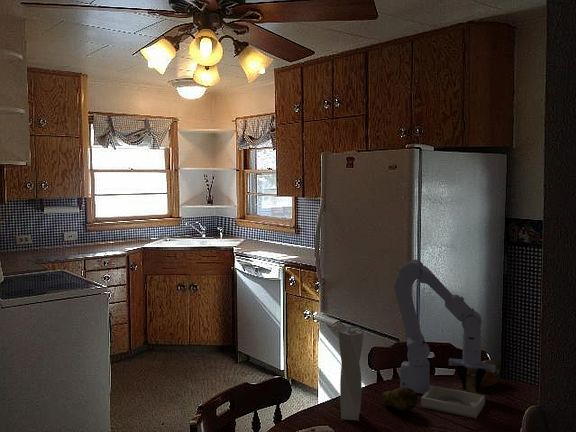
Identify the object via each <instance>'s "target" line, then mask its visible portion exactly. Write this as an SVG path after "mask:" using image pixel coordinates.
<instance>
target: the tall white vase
mask: <svg viewBox="0 0 576 432" xmlns="http://www.w3.org/2000/svg"><path fill="white" fill-rule="evenodd" d="M357 329H359V330H360V331H358V330H357ZM338 342H339V343H338V344H339V351H340V361H341V362H340V363H341V367H340V379H339V382H340V383H339V385H340V386H339V387H340V389H339V390H340V391H339V393H340V394H339V399H340V417H341V419H340V420H345V421H357V422H358V421H360V414H361V406H362V390H363V389H362V388H363V387H362V383H363V382H362V372H361V370H362V369H361V365H360V360H361V355H362V351H363V350H362V348H363V342H364V331H363V329H362V328H361V327H360V326H356V325H355V326H354V325H353V326H350V327H349V326H348V327H341V328H339V329H338Z"/></svg>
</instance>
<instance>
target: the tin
mask: <svg viewBox="0 0 576 432" xmlns="http://www.w3.org/2000/svg"><path fill="white" fill-rule="evenodd" d="M481 362H483V363H487V364H491V365H495V372H494V373H492V372H490V371H486V373H485V375H484V377H483V380H482V383H481V386H480V389H481V388H482V387H483V388H486V387H490V386H494V385H496V384H498V383H499V381H500V379H501V376H502V368H501V367H502V366H501V365H500V363H499V362H498V361H496V360H492V359H487V360H481ZM477 370H478V369H472V368H467V374H474V375H476V371H477ZM483 388H482V389H483Z"/></svg>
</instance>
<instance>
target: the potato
mask: <svg viewBox="0 0 576 432" xmlns="http://www.w3.org/2000/svg"><path fill="white" fill-rule="evenodd" d="M417 394H418V393H416V392H414V391H413V390H412V389H410V388H403V387H402V388H400V387H398V388H395V389H393V390H387V391H384V392H382V394H381V401H382V403H383V404H384V405H386V406H387V407H391V408H392V409H395V410H398V411H413V409H414V408H415V407H416V406H417V405H418V403H419V398H418V395H417Z"/></svg>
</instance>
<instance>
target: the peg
mask: <svg viewBox="0 0 576 432" xmlns="http://www.w3.org/2000/svg"><path fill="white" fill-rule="evenodd" d="M476 384H477V381H476V375H474V374H466V389H465V392H470V393H475V394H478V392H476Z"/></svg>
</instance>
